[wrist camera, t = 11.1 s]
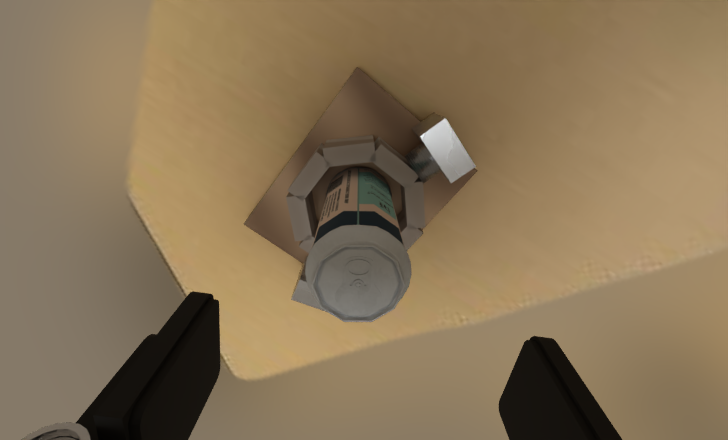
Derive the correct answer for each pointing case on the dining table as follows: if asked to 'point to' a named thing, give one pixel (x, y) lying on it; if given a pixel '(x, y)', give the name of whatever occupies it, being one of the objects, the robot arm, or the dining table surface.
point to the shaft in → (438, 151)
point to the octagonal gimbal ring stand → (346, 150)
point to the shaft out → (304, 290)
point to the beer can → (358, 249)
